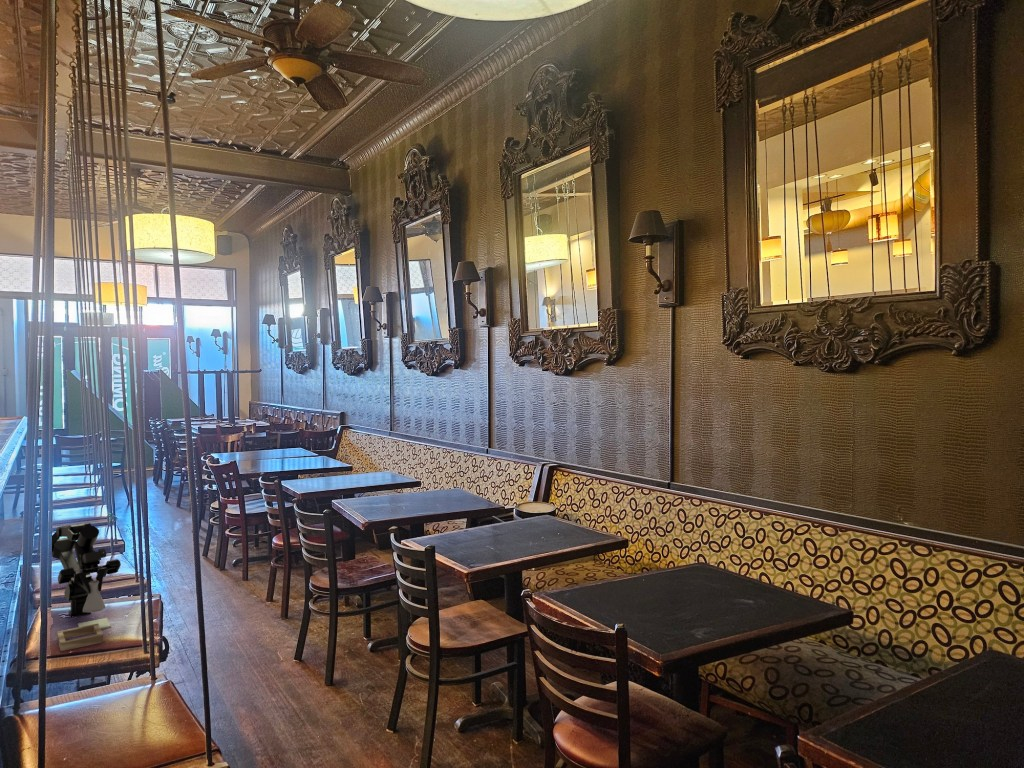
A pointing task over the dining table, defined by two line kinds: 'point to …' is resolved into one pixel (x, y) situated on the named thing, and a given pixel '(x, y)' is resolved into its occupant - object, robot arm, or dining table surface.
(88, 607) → the flask
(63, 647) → the oak cradle
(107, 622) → the sage pad
